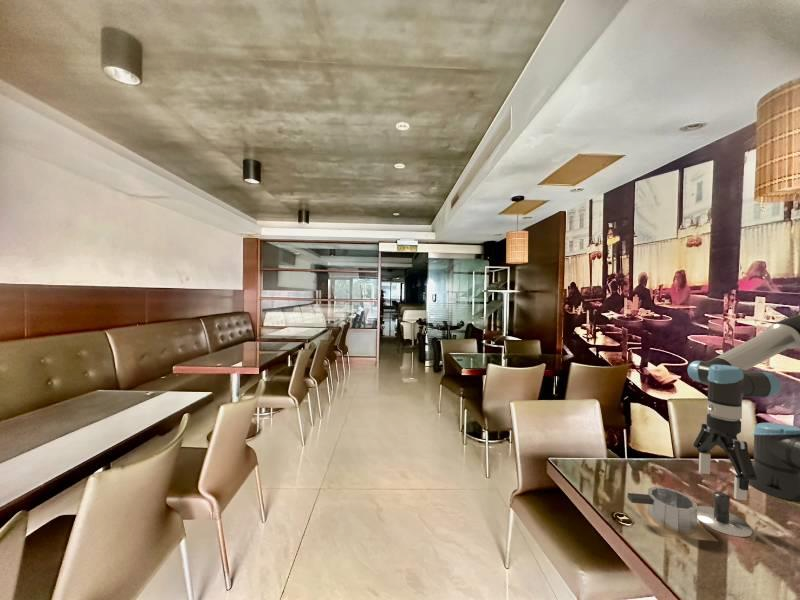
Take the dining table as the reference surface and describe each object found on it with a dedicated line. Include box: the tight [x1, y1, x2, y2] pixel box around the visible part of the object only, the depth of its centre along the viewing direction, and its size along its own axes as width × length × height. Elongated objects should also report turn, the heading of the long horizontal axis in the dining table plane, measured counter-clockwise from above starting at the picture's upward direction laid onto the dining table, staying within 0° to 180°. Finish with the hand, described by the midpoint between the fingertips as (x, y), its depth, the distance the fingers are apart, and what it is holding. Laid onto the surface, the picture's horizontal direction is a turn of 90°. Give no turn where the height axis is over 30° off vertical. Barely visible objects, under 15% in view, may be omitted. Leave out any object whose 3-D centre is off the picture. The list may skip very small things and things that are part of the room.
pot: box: [627, 486, 698, 535], centre depth 102 cm, size 18×12×7 cm, turn 81°
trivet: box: [631, 502, 718, 542], centre depth 102 cm, size 15×15×1 cm
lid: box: [697, 491, 753, 538], centre depth 101 cm, size 13×13×9 cm
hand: (721, 485), depth 101 cm, fingers open, 13 cm apart
